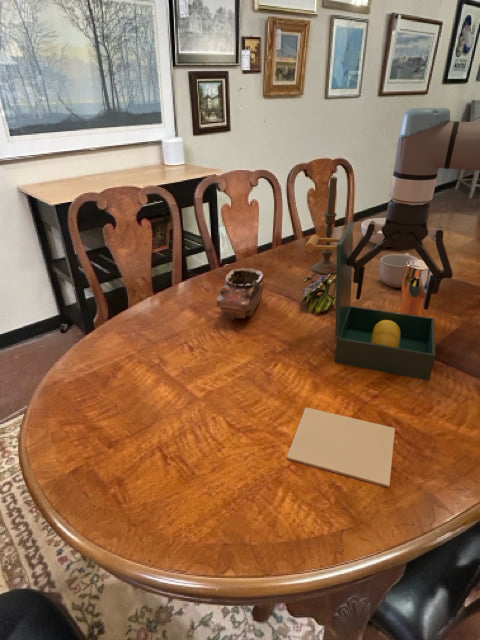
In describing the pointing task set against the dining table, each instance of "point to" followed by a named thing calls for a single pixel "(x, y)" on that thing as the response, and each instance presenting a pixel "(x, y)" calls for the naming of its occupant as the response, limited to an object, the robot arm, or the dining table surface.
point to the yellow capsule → (386, 334)
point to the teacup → (394, 268)
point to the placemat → (344, 446)
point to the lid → (339, 271)
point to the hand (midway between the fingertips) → (391, 301)
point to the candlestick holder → (328, 233)
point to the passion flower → (315, 288)
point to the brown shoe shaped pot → (241, 292)
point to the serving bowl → (379, 235)
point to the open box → (405, 360)
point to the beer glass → (414, 287)
